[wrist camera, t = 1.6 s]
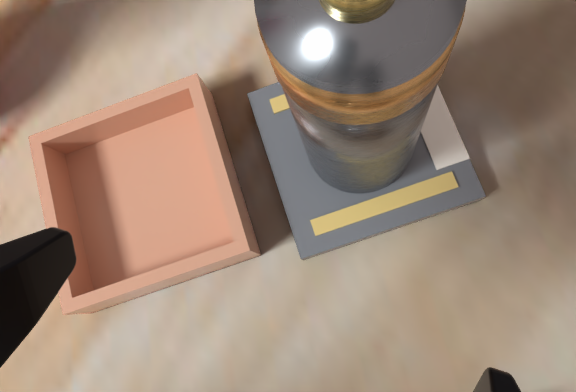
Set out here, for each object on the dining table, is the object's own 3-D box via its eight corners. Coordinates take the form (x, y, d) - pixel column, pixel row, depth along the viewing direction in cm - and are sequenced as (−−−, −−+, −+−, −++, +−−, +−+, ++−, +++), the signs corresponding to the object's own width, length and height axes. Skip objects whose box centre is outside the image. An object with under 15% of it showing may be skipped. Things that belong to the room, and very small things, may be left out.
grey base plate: (303, 260, 23) (300, 258, 22) (250, 99, 26) (246, 92, 25) (481, 199, 23) (486, 195, 22) (412, 40, 25) (413, 30, 24)
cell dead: (325, 209, 23) (282, 102, 10) (291, 112, 24) (216, -89, 12) (431, 173, 22) (522, 14, 10) (391, 76, 24) (426, -173, 11)
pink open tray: (92, 313, 24) (62, 314, 22) (58, 151, 27) (28, 136, 24) (261, 255, 24) (249, 250, 21) (212, 94, 26) (196, 73, 24)
